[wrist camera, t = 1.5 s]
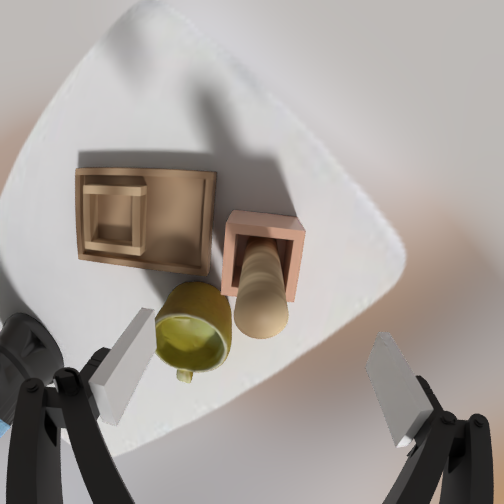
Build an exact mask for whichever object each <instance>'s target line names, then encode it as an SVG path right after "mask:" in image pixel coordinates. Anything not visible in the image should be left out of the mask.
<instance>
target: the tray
mask: <svg viewBox="0 0 504 504" xmlns="http://www.w3.org/2000/svg"><path fill="white" fill-rule="evenodd" d="M216 178H217V172H212V171H198V170H181V169H160V168H123V167H85V168H77V169H76V172H75V210H76V233H77V248H78V259H80V260H87V261H93V262H100V263H107V264H114V265H121V266H128V267H136V268H143V269H151V270H158V271H166V272H174V273H182V274H190V275H198V276H207V275H208V273H209V271H210V261H211V245H212V229H213V215H214V202H215V189H216Z"/></svg>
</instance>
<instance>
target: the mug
mask: <svg viewBox="0 0 504 504" xmlns="http://www.w3.org/2000/svg"><path fill="white" fill-rule="evenodd" d="M155 331H156V344H157V349H156V350H155V354H156V355H157V356H158V357H159V358H160V359H161V360H162V361H163V362H164V363H166V364H168V365H169V366H171V367H174V368H176V369H177V379H178V380H179V381H182V382H186V383H191V380H192V376H193V372H195V373H200V372H208V371H212V370H214V369H216V368H218V367H219V366H220V365H222V364H223V362H224V361H225V360H226V358H227V356H228V354H229V351H230V347H231V341H232V319H231V308H230V305H229V302H228V300H227V299H226V297H225V296H224V295H221V292H220V291H219V290H218V289H217V288H216V287H214V286H212V285H210V284H207V283H204V282H199V281H195V282H185V283H183V284H180V285H179V286H177V287H176V288H175V289H174V290H173V291H172V292H171V293H170V294H169V296H168V298H167V300H166V302H165V304H164V305H163V307H162V308H161V310H160V311H159V313H158V314H157V316H156V317H155Z"/></svg>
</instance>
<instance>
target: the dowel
mask: <svg viewBox="0 0 504 504" xmlns="http://www.w3.org/2000/svg"><path fill="white" fill-rule="evenodd" d="M234 321H235V324H236V326H237V327H238V329H239V330H240V331H241V332H242V333H244V334H245V335H247V336H249V337H252V338H256V339H266V338H270V337H273V336H275V335H277V334H279V333H280V332H281V331H282V330H283V329H284V328H285V326H286V324H287V322H288V308H287V301H286V295H285V289H284V282H283V276H282V270H281V264H280V258H279V252H278V246H277V242H276V239H275V238H270V237H261V236H250V237H249V239H248V240H247V244H246V249H245V255H244V260H243V266H242V271H241V277H240V282H239V288H238V293H237V299H236V304H235V310H234Z"/></svg>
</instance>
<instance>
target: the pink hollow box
mask: <svg viewBox="0 0 504 504" xmlns="http://www.w3.org/2000/svg"><path fill="white" fill-rule="evenodd" d="M305 232H306V231H305V229H304V227H303V226H302V224H301V222H300V221H299V219H298V217H295V216H286V215H278V214H269V213H259V212H250V211H240V210H233V211H232V213H231V214H230V216H229V218H228V220H227V222H226V229H225V242H224V255H223V269H222V283H221V295H227V296H236V297H237V293H238V288H239V282H240V277H241V271H242V266H243V260H244V255H245V249H246V244H247V240H248V239H249V237H250V236H261V237H270V238H275V239H276V242H277V246H278V252H279V258H280V264H281V270H282V276H283V282H284V289H285V295H286V301H287V302H294V299H295V294H296V288H297V282H298V276H299V270H300V264H301V258H302V252H303V245H304V239H305Z"/></svg>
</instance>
